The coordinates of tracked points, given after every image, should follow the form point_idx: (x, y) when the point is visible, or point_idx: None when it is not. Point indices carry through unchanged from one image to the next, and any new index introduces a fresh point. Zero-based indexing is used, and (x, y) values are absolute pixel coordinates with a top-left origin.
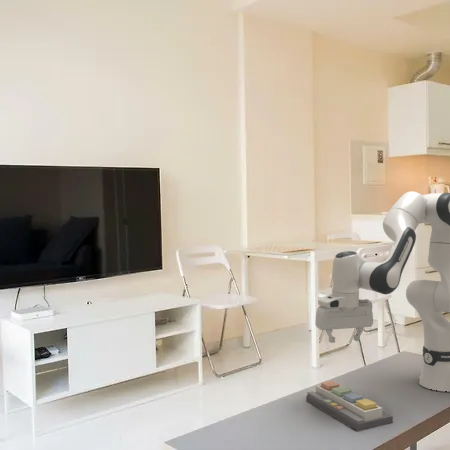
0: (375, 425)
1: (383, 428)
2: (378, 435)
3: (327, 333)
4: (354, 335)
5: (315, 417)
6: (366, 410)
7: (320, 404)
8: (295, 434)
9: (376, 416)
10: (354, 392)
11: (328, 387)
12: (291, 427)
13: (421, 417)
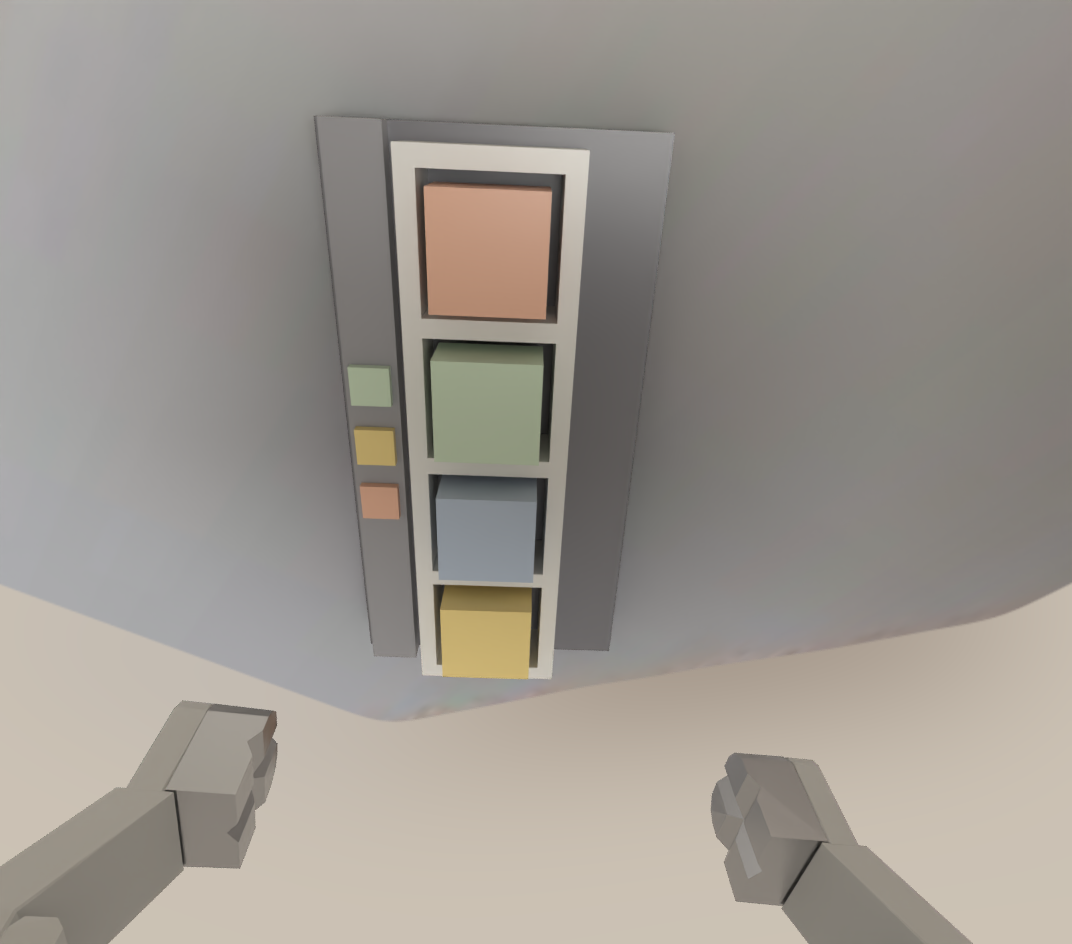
0: None
1: None
2: None
3: (17, 893)
4: (755, 854)
5: (260, 393)
6: None
7: (338, 326)
8: (57, 510)
9: None
10: (532, 507)
11: (429, 307)
12: (60, 435)
13: (780, 641)
